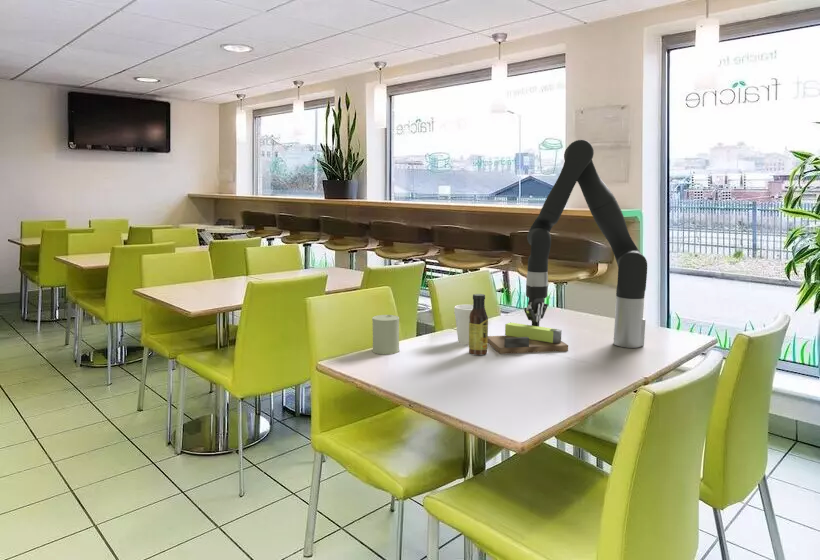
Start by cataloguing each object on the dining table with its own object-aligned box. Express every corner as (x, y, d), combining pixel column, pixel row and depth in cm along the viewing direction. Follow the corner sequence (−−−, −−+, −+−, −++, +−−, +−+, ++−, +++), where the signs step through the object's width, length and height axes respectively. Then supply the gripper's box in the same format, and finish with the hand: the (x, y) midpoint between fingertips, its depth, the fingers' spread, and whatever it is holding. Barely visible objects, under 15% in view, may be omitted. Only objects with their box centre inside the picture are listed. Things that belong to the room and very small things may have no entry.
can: (404, 349, 196) (404, 314, 194) (391, 355, 187) (391, 320, 186) (380, 345, 200) (380, 312, 198) (367, 352, 191) (367, 317, 189)
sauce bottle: (486, 356, 187) (488, 296, 184) (467, 355, 188) (468, 296, 185) (488, 351, 193) (489, 293, 190) (469, 350, 194) (470, 292, 191)
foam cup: (450, 344, 202) (450, 308, 200) (458, 338, 210) (458, 303, 208) (476, 347, 198) (477, 310, 196) (483, 340, 206) (484, 305, 205)
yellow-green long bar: (562, 341, 197) (563, 329, 196) (558, 343, 194) (558, 332, 193) (510, 333, 208) (510, 322, 208) (505, 335, 205) (505, 324, 205)
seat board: (549, 339, 209) (549, 325, 208) (568, 350, 193) (568, 336, 193) (486, 341, 205) (486, 328, 204) (500, 353, 190) (500, 339, 189)
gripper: (537, 280, 210) (535, 326, 213) (517, 284, 201) (516, 332, 203) (555, 283, 205) (553, 329, 208) (536, 287, 196) (534, 336, 198)
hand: (535, 331), depth 205 cm, fingers closed
